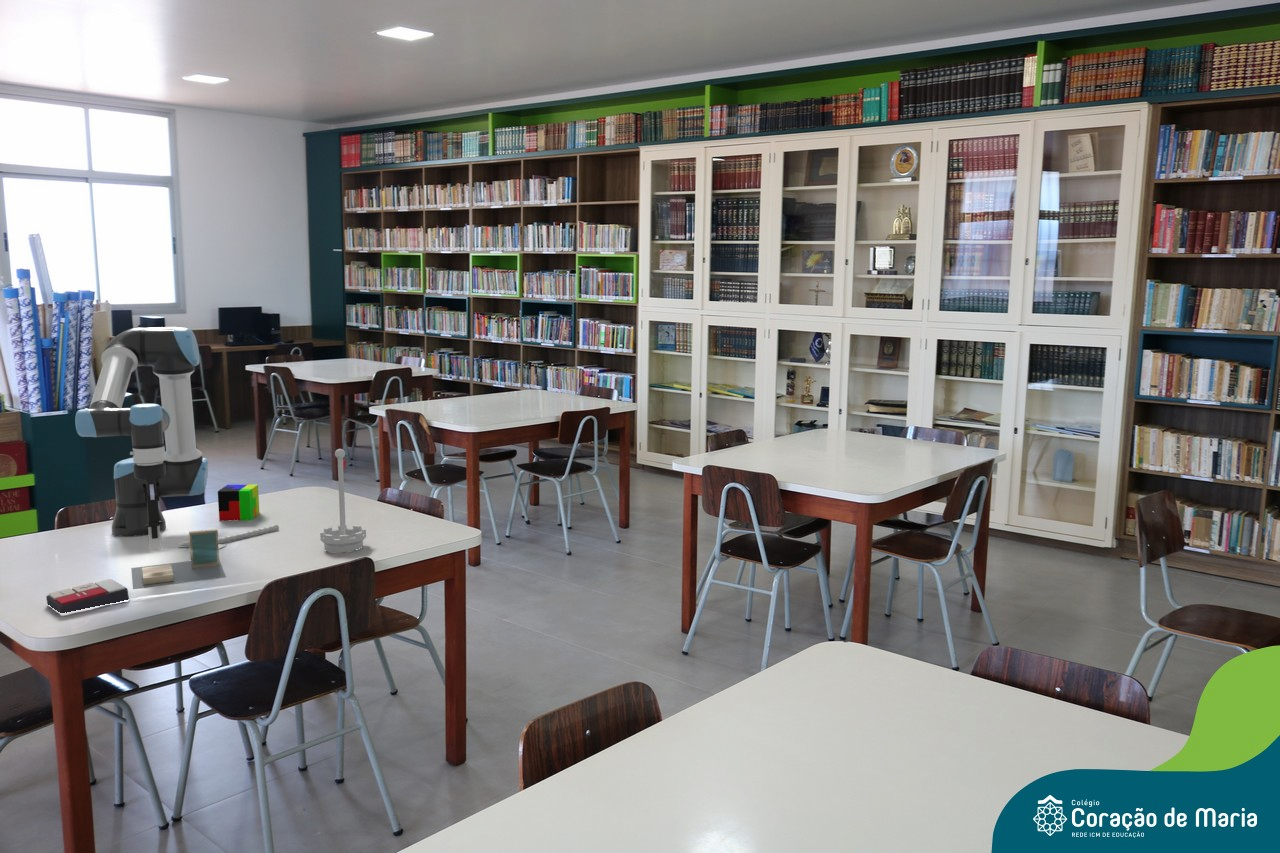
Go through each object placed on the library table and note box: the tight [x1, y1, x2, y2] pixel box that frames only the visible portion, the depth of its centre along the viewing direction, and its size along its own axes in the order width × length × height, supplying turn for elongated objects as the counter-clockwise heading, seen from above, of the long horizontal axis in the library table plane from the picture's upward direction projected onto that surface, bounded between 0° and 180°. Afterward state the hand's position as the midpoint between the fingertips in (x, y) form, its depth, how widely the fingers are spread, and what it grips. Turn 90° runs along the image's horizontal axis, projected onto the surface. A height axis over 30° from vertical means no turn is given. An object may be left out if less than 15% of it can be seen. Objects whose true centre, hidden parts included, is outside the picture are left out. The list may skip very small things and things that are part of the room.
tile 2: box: [188, 528, 220, 568], centre depth 261 cm, size 2×7×10 cm, turn 119°
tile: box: [142, 563, 174, 585], centre depth 251 cm, size 2×7×10 cm
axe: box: [177, 523, 280, 550], centre depth 290 cm, size 30×14×2 cm, turn 146°
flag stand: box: [319, 448, 367, 554], centre depth 281 cm, size 13×13×30 cm
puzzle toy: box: [217, 483, 260, 522], centre depth 317 cm, size 10×10×10 cm
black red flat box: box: [45, 578, 130, 613], centre depth 233 cm, size 11×4×15 cm
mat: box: [130, 559, 227, 590], centre depth 256 cm, size 20×22×1 cm
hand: (155, 549), depth 254 cm, fingers closed
